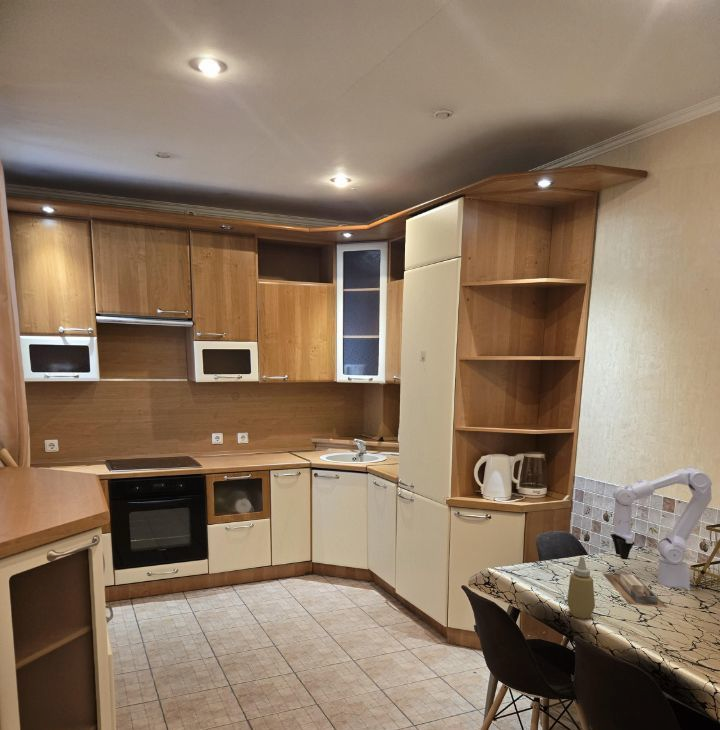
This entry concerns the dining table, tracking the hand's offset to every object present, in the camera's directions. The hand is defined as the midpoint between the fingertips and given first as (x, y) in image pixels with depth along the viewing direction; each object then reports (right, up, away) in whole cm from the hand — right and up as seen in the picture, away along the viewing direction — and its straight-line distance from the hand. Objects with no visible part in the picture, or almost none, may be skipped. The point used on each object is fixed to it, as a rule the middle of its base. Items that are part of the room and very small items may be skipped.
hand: (621, 556), depth 190 cm
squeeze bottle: (-29, -7, -31) cm, 42 cm away
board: (-2, -8, -11) cm, 14 cm away
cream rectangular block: (-2, -7, -10) cm, 13 cm away
